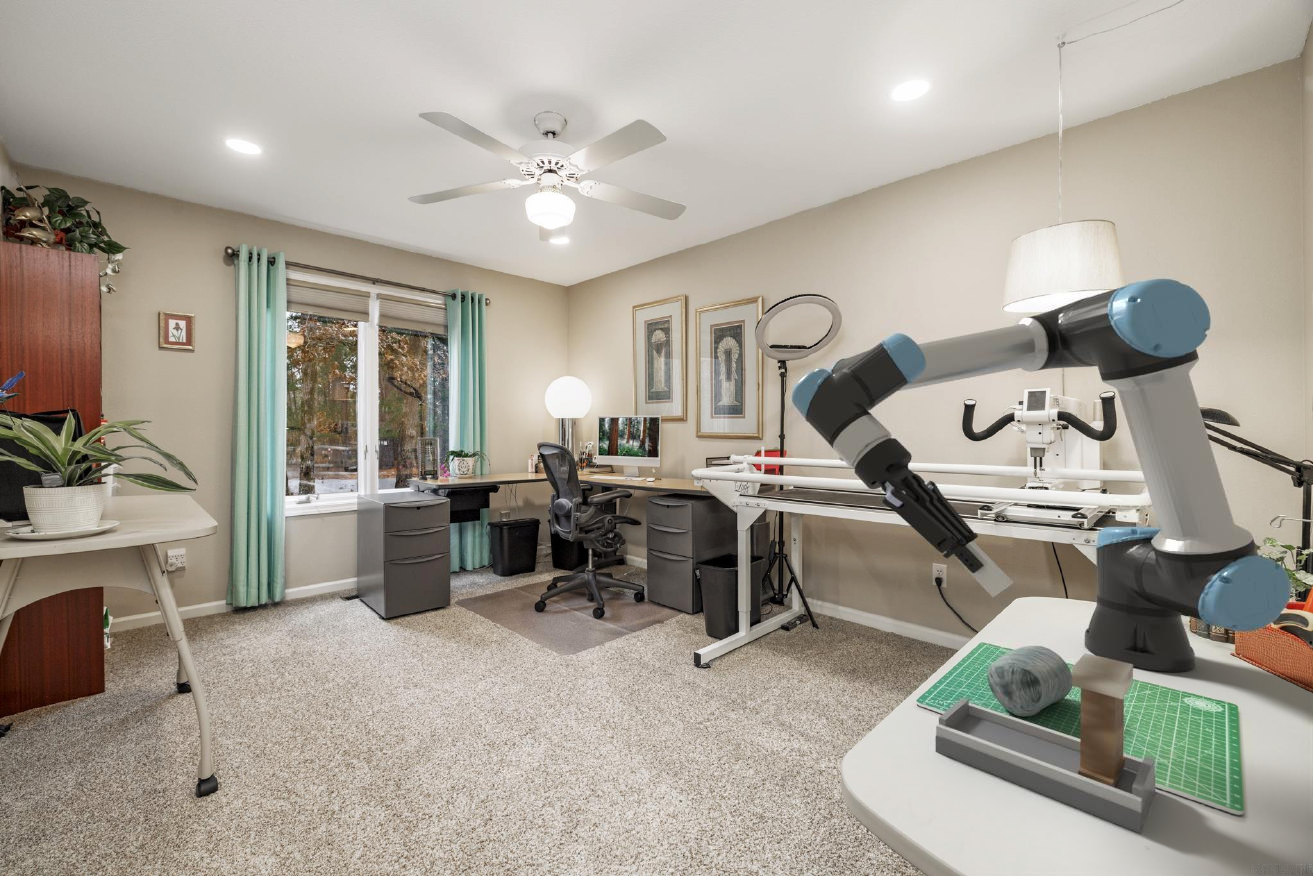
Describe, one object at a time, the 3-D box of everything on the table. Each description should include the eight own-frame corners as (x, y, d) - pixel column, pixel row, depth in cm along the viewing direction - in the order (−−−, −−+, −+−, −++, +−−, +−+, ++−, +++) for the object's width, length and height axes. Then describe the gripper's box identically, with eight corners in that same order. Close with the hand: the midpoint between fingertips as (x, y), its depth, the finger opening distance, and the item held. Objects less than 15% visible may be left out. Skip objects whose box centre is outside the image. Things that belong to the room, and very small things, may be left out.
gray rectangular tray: (935, 751, 73) (935, 720, 73) (965, 723, 79) (965, 695, 79) (1140, 833, 58) (1140, 794, 58) (1155, 790, 65) (1155, 755, 64)
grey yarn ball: (1046, 713, 76) (1021, 634, 81) (981, 718, 83) (962, 645, 88) (1103, 716, 81) (1077, 642, 86) (1037, 720, 89) (1017, 652, 94)
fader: (1070, 776, 63) (1071, 669, 63) (1085, 752, 68) (1085, 651, 68) (1120, 795, 60) (1121, 681, 60) (1132, 768, 65) (1133, 663, 65)
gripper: (877, 468, 90) (997, 595, 78) (833, 474, 81) (961, 619, 69) (910, 434, 86) (1042, 563, 74) (868, 436, 77) (1010, 583, 65)
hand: (1003, 590), depth 71 cm, fingers closed
